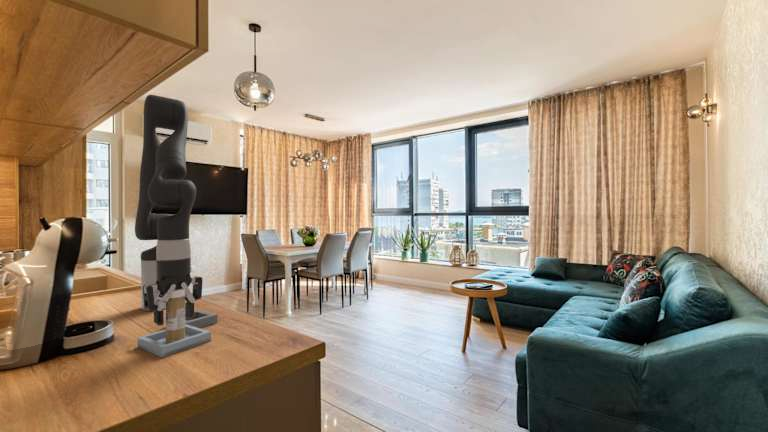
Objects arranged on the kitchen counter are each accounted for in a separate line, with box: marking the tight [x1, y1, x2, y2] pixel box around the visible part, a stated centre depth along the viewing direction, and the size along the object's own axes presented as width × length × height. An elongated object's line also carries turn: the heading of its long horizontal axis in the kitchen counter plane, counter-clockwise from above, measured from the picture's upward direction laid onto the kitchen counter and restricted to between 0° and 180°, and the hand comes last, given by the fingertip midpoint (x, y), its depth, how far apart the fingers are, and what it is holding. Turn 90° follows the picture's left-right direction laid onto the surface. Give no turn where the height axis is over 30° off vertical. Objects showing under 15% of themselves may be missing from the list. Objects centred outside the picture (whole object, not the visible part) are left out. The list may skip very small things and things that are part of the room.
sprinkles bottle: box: [165, 289, 186, 343], centre depth 89 cm, size 5×5×14 cm
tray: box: [137, 324, 212, 358], centre depth 89 cm, size 12×12×2 cm
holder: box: [185, 309, 218, 329], centre depth 104 cm, size 10×10×2 cm
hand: (174, 320), depth 89 cm, fingers open, 6 cm apart
